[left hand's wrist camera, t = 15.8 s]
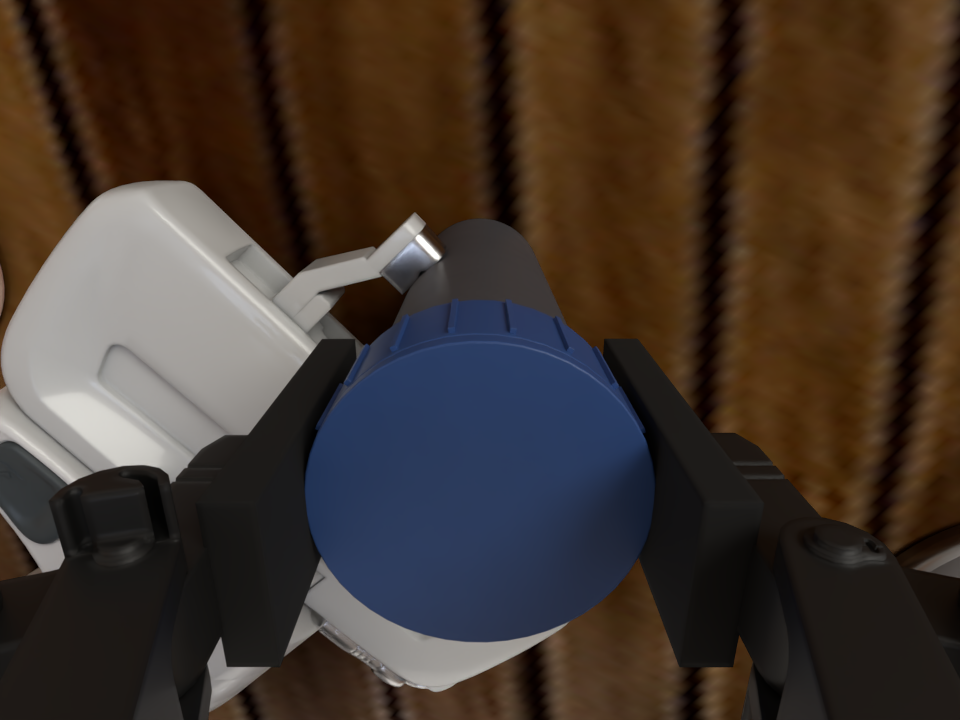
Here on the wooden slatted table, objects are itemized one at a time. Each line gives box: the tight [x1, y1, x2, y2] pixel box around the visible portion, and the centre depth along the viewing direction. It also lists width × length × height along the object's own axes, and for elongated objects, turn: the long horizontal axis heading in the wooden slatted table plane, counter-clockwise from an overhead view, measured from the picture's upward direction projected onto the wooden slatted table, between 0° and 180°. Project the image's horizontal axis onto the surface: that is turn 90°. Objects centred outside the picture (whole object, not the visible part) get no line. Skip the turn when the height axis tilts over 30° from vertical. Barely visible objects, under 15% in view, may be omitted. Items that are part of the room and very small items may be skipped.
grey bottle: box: [393, 219, 567, 326], centre depth 18 cm, size 5×5×16 cm
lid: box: [304, 299, 656, 643], centre depth 11 cm, size 6×6×2 cm
